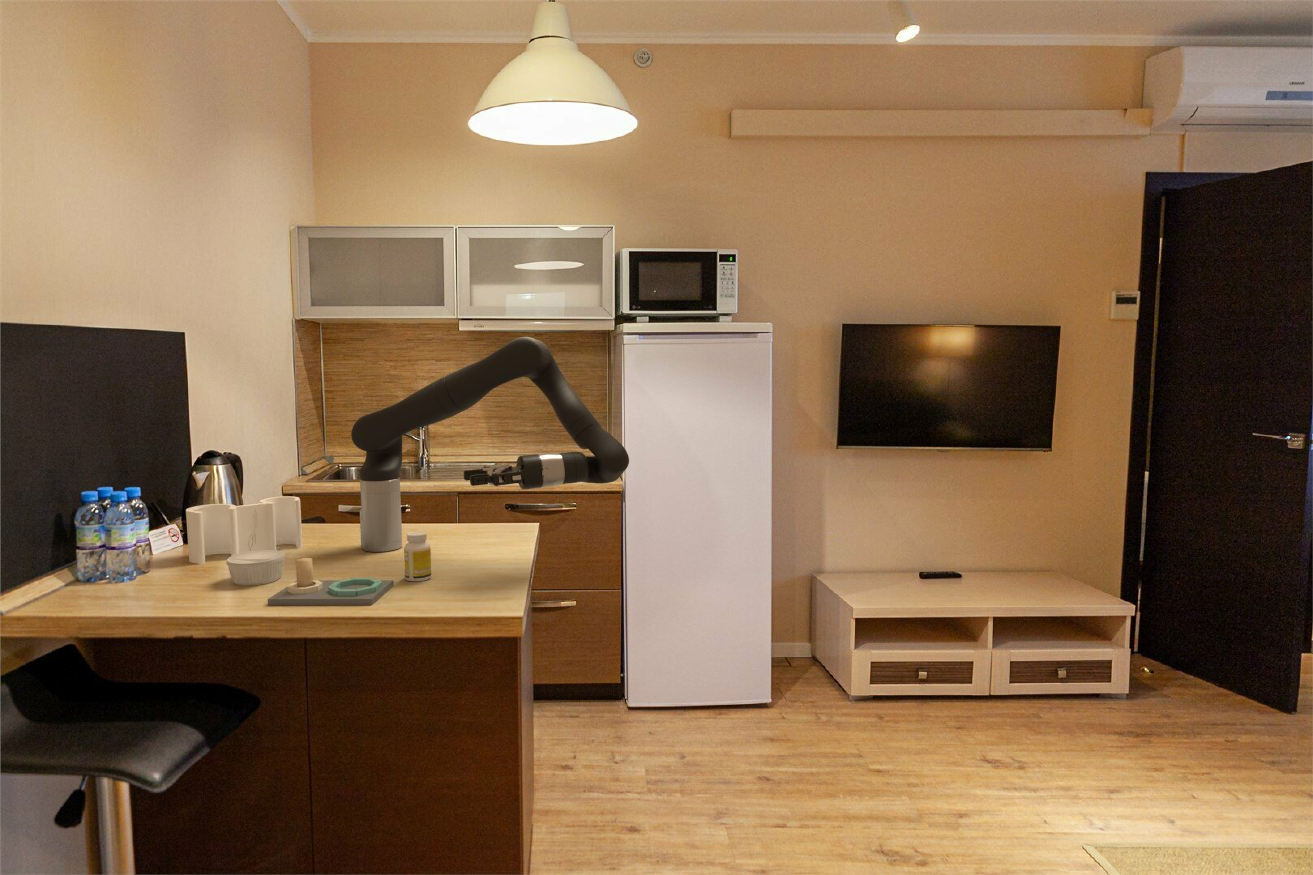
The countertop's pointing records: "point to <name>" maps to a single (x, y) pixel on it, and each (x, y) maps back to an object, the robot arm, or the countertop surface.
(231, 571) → the ramekin
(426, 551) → the supplement bottle
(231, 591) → the countertop surface
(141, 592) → the countertop surface
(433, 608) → the countertop surface
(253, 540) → the bracket
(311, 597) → the socket board
